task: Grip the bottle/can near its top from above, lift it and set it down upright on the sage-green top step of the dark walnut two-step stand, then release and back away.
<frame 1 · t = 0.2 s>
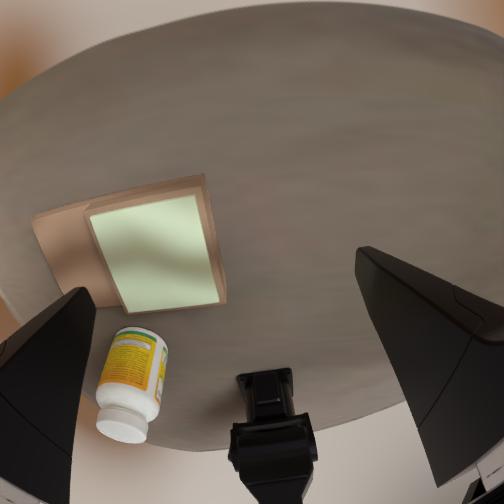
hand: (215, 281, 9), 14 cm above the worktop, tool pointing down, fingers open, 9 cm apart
step stand: (126, 247, 24), on the worktop
supplement bottle: (141, 343, 31), on the worktop
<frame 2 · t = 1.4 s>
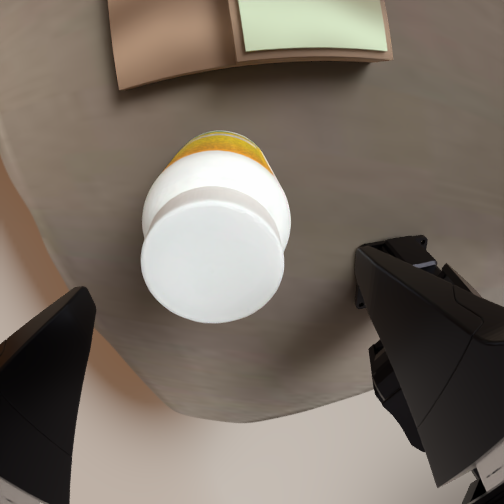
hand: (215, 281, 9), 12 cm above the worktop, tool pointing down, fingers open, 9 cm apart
supplement bottle: (220, 174, 19), on the worktop
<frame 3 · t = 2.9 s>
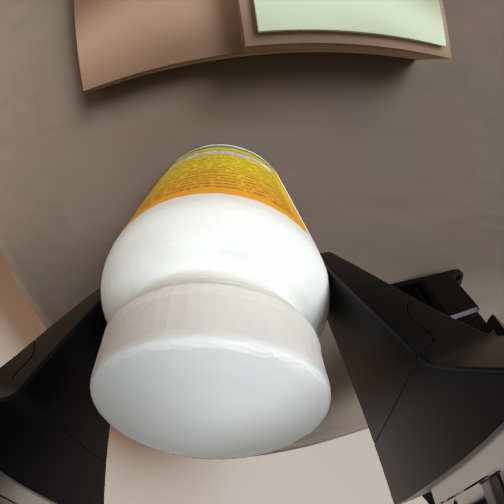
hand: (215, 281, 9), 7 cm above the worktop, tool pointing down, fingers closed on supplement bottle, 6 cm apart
supplement bottle: (220, 202, 15), on the worktop, touching gripper
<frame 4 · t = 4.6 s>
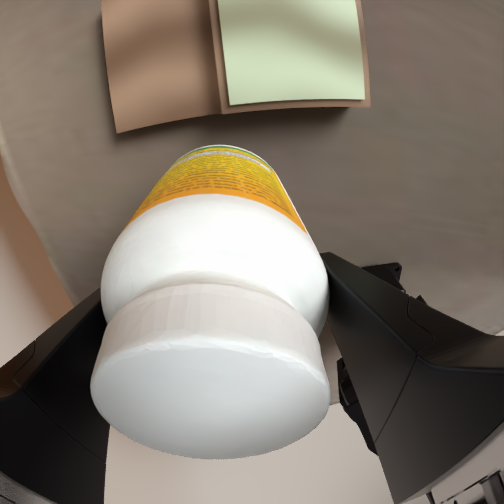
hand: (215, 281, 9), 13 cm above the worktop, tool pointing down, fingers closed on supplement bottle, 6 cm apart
step stand: (230, 40, 16), on the worktop
supplement bottle: (220, 202, 15), point 6 cm above the worktop, touching gripper
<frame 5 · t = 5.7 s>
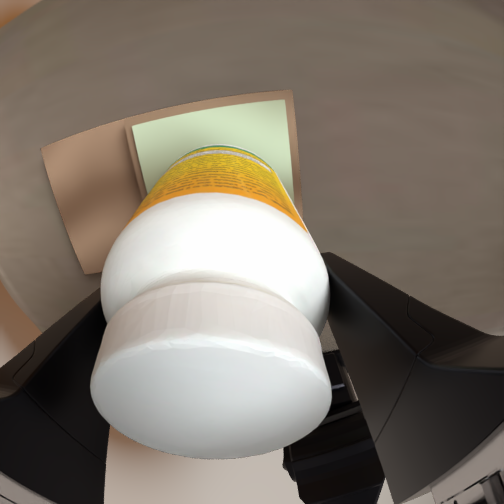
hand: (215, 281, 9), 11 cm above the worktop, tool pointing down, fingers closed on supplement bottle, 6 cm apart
step stand: (168, 183, 19), on the worktop
supplement bottle: (220, 202, 15), point 5 cm above the worktop, touching gripper
when the fingers open (11 cm above the worktop, at t = 6.6 s): supplement bottle drops 1 cm, resting on step stand.
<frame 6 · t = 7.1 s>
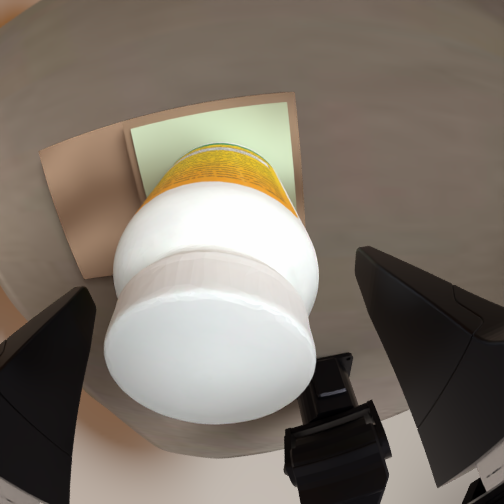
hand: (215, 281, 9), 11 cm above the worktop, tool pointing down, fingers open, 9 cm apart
step stand: (168, 187, 19), on the worktop
supplement bottle: (221, 196, 16), point 3 cm above the worktop, touching step stand
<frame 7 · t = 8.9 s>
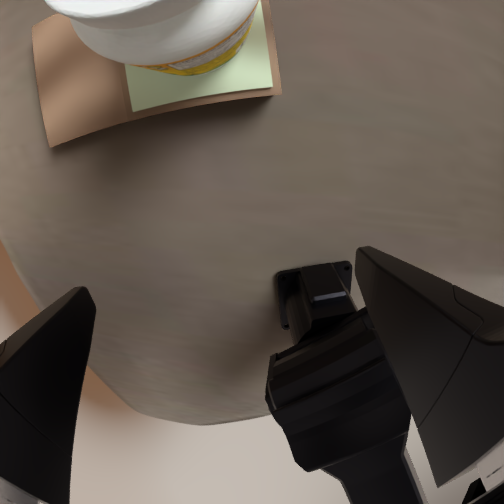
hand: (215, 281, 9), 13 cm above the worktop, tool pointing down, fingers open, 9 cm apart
step stand: (144, 46, 15), on the worktop
supplement bottle: (191, 26, 13), point 3 cm above the worktop, touching step stand
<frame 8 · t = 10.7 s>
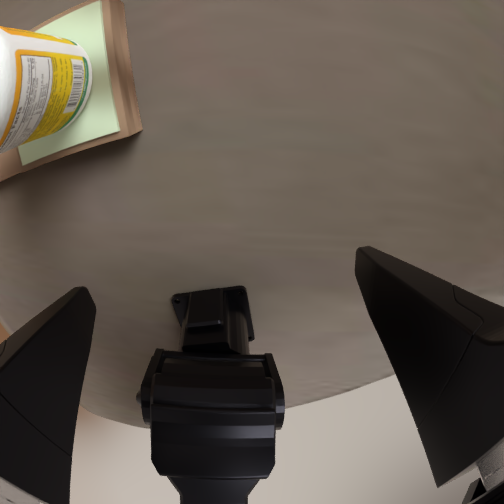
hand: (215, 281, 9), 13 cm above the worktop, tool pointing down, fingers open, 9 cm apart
step stand: (39, 99, 16), on the worktop
supplement bottle: (54, 85, 13), point 3 cm above the worktop, touching step stand
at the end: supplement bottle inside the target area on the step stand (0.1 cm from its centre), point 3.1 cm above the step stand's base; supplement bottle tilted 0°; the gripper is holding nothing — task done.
